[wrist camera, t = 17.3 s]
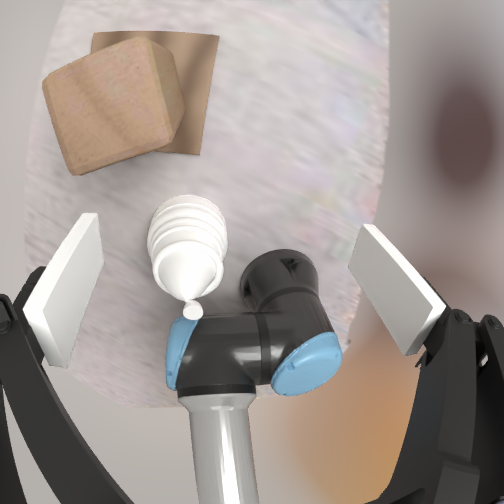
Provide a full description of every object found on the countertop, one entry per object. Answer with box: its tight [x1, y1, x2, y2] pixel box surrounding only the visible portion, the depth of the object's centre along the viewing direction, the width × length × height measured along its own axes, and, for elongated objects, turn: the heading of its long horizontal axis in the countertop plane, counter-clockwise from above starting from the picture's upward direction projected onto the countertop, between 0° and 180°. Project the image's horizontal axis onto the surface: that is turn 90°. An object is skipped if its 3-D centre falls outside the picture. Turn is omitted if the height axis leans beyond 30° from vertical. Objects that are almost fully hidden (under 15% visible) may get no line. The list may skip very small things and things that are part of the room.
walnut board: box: [91, 31, 219, 155], centre depth 36 cm, size 18×18×2 cm
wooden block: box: [42, 36, 185, 175], centre depth 28 cm, size 10×10×20 cm
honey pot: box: [147, 195, 228, 320], centre depth 44 cm, size 13×13×18 cm
